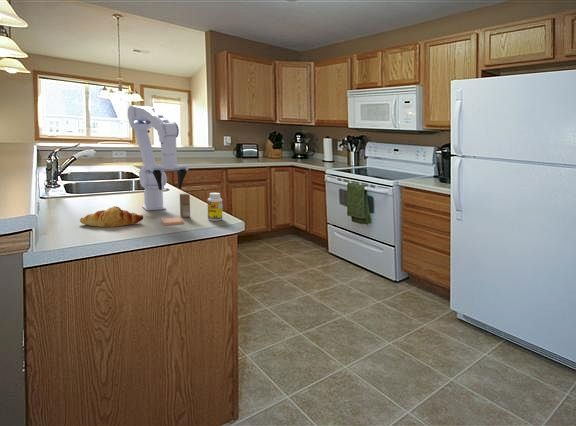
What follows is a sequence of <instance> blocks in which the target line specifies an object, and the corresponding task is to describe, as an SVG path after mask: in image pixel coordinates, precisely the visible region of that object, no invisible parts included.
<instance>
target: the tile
mask: <svg viewBox="0 0 576 426" xmlns="http://www.w3.org/2000/svg"><path fill="white" fill-rule="evenodd" d="M160 222H161V224H163V225H164V226H174V225H184V224H185V221H184V220H183V218H182V217H178V216H177V217H168V218H160Z"/></svg>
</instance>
